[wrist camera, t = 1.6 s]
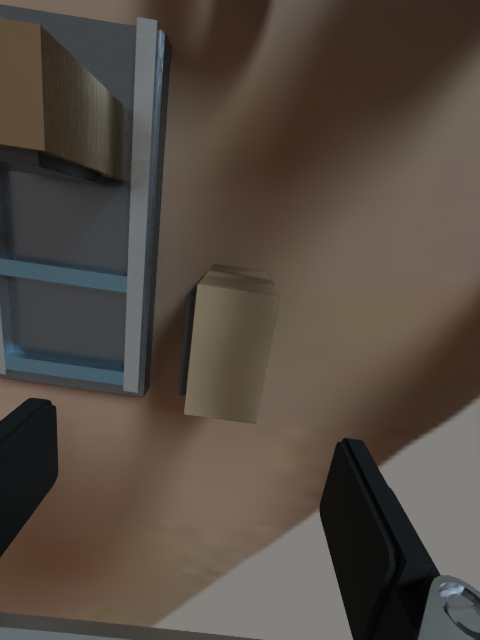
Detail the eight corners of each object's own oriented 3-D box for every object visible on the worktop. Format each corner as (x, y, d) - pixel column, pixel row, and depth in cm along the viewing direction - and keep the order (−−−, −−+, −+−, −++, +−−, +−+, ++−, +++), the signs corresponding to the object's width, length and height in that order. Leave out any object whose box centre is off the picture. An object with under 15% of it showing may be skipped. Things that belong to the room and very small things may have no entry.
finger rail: (171, 45, 21) (98, -126, 11) (149, 388, 28) (94, 478, 18) (-16, 15, 21) (-270, -188, 10) (12, 369, 28) (-120, 450, 18)
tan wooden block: (197, 353, 27) (174, 412, 19) (207, 262, 25) (186, 282, 16) (253, 361, 27) (256, 424, 19) (268, 271, 25) (279, 296, 17)
